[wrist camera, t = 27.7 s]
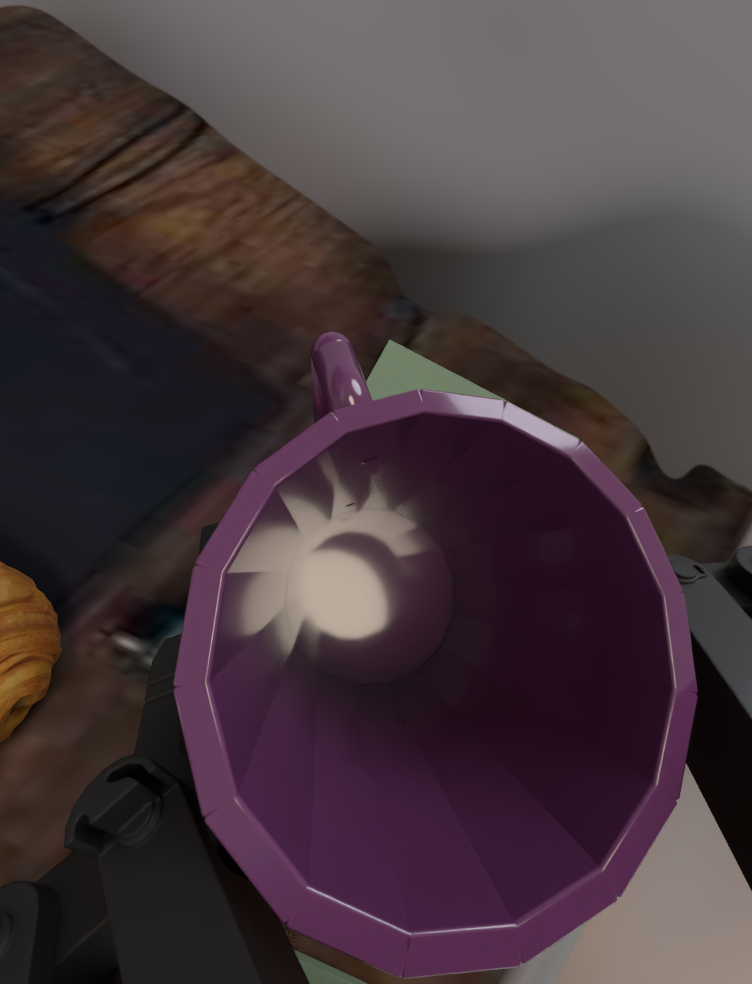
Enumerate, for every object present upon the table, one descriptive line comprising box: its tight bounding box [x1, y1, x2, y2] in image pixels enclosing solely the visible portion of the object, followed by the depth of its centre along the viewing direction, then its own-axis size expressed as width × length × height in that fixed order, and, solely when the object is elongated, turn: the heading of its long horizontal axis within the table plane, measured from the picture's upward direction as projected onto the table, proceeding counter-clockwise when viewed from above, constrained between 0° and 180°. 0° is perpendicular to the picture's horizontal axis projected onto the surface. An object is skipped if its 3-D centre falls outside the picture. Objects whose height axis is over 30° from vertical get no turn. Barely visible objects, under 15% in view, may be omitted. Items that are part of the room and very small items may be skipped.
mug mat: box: [366, 340, 579, 439], centre depth 24 cm, size 16×11×1 cm
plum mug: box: [173, 331, 698, 979], centre depth 11 cm, size 12×9×11 cm
